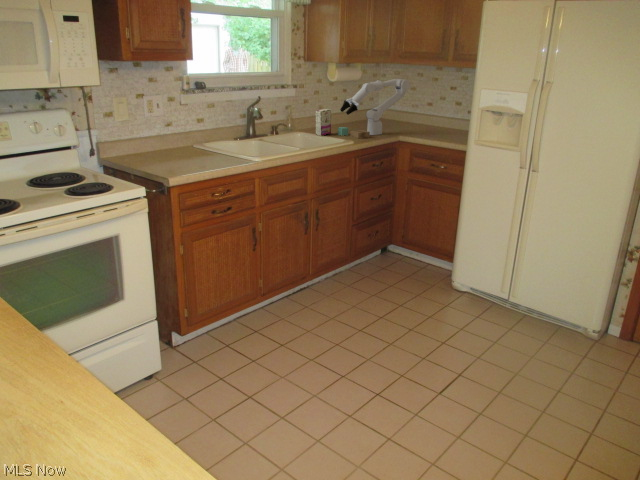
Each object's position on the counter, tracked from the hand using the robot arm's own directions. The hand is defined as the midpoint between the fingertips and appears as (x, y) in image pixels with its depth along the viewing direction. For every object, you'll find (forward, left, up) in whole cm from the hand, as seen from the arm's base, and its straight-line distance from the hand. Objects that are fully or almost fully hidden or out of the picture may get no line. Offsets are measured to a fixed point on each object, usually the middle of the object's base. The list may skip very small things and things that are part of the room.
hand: (343, 112), depth 348 cm
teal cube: (-2, -3, -15) cm, 16 cm away
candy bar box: (+10, -10, -15) cm, 21 cm away
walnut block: (-7, +9, -16) cm, 19 cm away
